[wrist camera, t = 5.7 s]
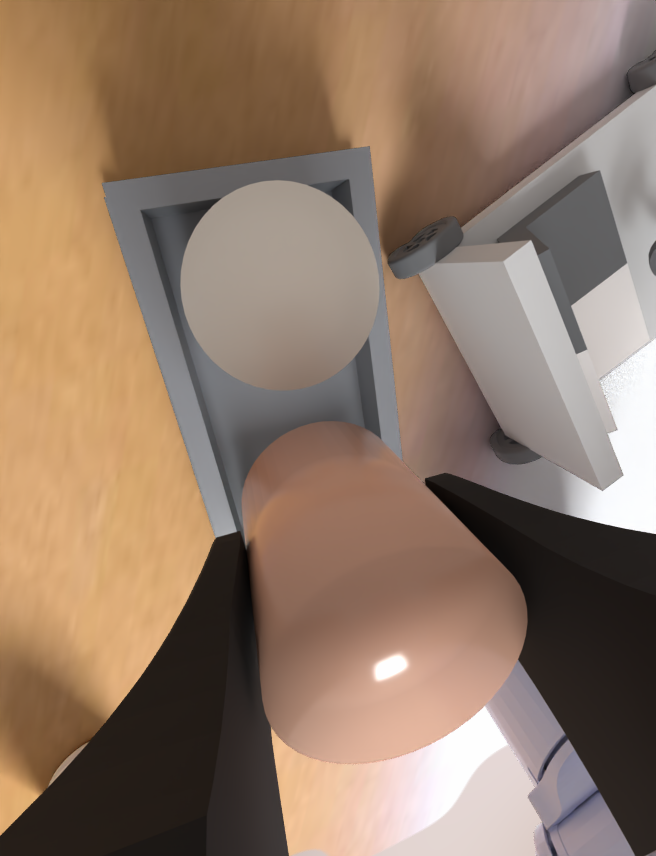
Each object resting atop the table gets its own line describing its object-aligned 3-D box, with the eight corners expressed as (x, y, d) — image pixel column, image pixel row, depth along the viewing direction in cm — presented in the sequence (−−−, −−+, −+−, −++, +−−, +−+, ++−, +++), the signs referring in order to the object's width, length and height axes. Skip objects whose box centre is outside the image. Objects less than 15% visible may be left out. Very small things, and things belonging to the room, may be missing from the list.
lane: (354, 165, 16) (422, 115, 11) (402, 571, 24) (455, 657, 19) (109, 200, 15) (49, 162, 9) (245, 621, 22) (254, 730, 17)
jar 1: (313, 202, 15) (367, 166, 10) (335, 337, 17) (388, 368, 12) (175, 224, 15) (151, 197, 9) (213, 363, 17) (212, 409, 11)
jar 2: (393, 403, 12) (532, 510, 7) (406, 541, 14) (523, 708, 9) (222, 444, 11) (229, 601, 6) (261, 584, 13) (292, 799, 8)
